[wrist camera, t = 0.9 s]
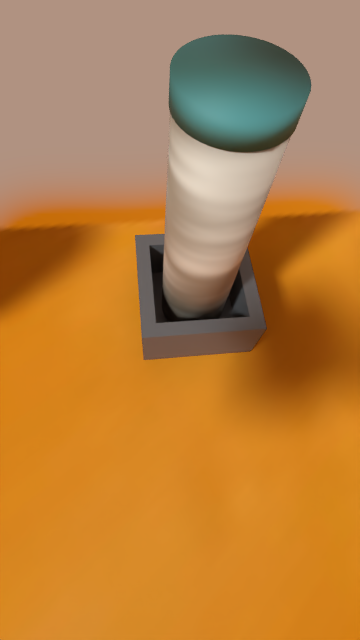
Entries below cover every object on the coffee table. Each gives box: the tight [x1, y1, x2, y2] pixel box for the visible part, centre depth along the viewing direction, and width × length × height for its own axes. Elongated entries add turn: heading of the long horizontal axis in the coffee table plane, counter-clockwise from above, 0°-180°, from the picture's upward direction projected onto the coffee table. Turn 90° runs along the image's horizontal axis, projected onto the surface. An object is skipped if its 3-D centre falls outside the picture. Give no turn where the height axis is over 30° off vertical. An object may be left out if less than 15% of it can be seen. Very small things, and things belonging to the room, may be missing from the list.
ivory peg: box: [162, 35, 311, 322], centre depth 16 cm, size 4×4×14 cm
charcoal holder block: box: [135, 234, 267, 360], centre depth 21 cm, size 7×7×4 cm
